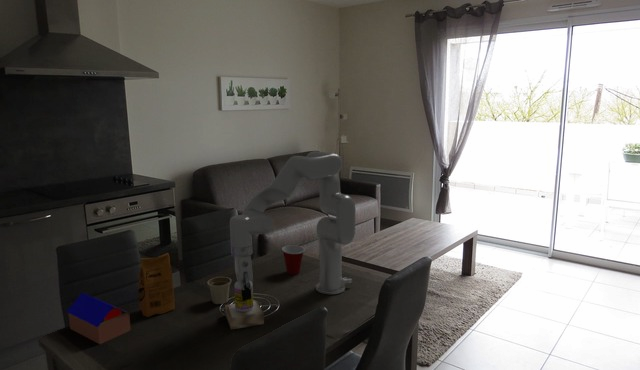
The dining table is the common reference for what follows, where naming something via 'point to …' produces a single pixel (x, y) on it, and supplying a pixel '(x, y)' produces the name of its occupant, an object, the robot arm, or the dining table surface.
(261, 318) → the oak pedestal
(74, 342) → the dining table surface
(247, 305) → the supplement bottle
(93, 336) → the house
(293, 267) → the plastic cup
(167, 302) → the coffee package
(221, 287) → the flower pot
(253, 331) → the dining table surface
